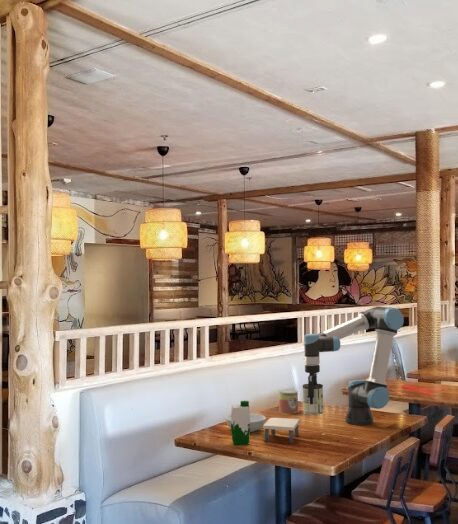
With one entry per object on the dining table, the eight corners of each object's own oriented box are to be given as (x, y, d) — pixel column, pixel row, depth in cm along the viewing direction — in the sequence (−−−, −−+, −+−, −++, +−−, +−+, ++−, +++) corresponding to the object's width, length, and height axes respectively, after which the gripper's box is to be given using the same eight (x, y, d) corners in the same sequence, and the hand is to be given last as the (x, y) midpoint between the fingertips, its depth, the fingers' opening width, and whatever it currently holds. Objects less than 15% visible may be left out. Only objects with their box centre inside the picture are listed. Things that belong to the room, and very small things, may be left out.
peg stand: (299, 435, 308) (299, 419, 308) (293, 444, 291) (293, 427, 291) (270, 433, 312) (270, 417, 312) (263, 442, 295) (262, 425, 295)
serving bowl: (217, 430, 318) (217, 417, 318) (244, 424, 333) (244, 411, 334) (247, 437, 304) (247, 423, 304) (273, 430, 319) (273, 416, 320)
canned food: (286, 414, 357) (285, 393, 358) (275, 410, 367) (275, 390, 368) (301, 412, 363) (301, 391, 363) (290, 408, 373) (290, 389, 373)
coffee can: (303, 410, 316) (302, 383, 317) (323, 410, 315) (322, 383, 316) (303, 415, 306) (302, 386, 306) (324, 415, 305) (323, 386, 305)
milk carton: (250, 445, 289) (250, 403, 289) (231, 446, 288) (231, 403, 289) (248, 440, 297) (248, 399, 298) (230, 441, 297) (230, 400, 297)
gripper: (308, 361, 323) (309, 403, 323) (301, 367, 301) (302, 412, 301) (322, 361, 321) (323, 404, 320) (316, 367, 299) (317, 413, 299)
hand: (313, 408), depth 311 cm, fingers closed on coffee can, 10 cm apart
